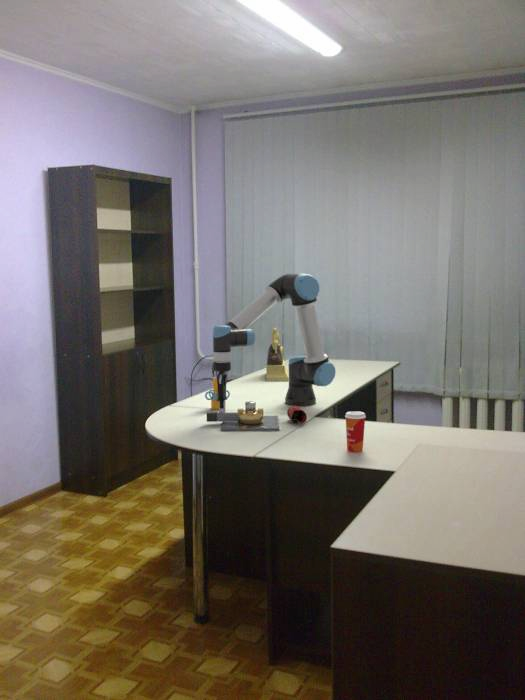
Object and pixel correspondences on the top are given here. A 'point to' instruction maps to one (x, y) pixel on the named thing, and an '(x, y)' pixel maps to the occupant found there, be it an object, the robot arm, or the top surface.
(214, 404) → the cylinder
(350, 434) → the paper cup
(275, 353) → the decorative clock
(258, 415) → the brass knob with lugs
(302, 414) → the beverage can
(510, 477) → the top surface
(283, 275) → the robot arm
